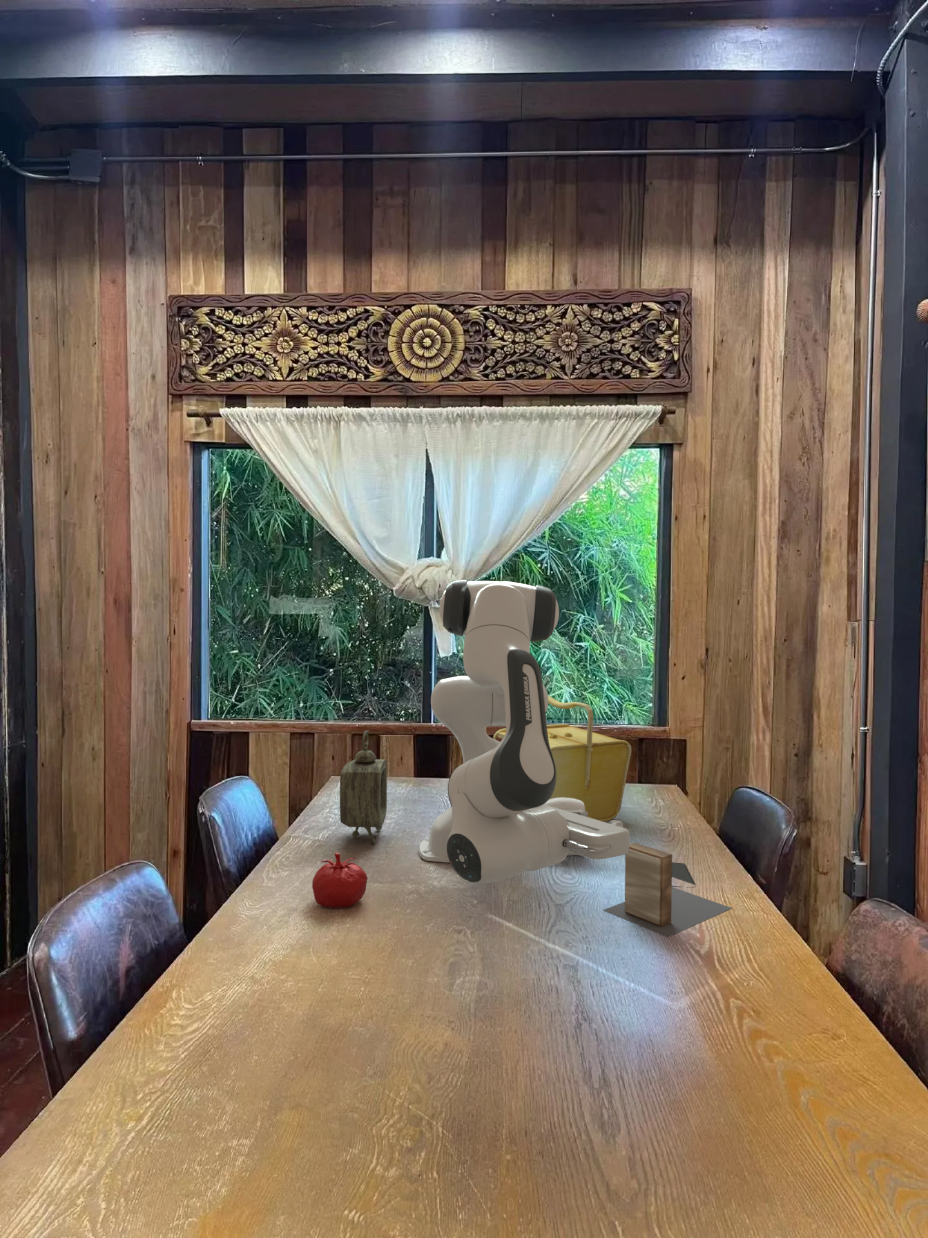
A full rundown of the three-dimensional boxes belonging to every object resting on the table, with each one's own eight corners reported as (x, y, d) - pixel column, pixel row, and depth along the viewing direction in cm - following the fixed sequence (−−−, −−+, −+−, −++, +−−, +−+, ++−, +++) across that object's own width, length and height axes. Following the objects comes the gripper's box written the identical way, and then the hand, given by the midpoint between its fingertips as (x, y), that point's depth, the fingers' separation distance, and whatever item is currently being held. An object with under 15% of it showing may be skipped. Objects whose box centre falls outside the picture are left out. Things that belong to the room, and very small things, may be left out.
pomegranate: (356, 917, 139) (356, 865, 138) (303, 911, 141) (303, 860, 140) (374, 894, 148) (374, 846, 148) (324, 889, 150) (324, 842, 150)
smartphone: (685, 862, 165) (697, 888, 151) (685, 867, 165) (697, 893, 151) (649, 861, 166) (658, 886, 151) (649, 865, 166) (658, 890, 151)
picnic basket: (490, 803, 212) (490, 693, 211) (570, 793, 223) (571, 689, 222) (545, 834, 186) (546, 708, 185) (634, 821, 197) (635, 702, 196)
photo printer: (581, 849, 175) (582, 794, 174) (587, 856, 170) (587, 800, 170) (536, 851, 173) (537, 796, 173) (541, 858, 169) (541, 801, 168)
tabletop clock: (379, 848, 175) (379, 737, 174) (339, 847, 175) (338, 736, 174) (386, 828, 190) (387, 726, 189) (349, 828, 190) (349, 725, 189)
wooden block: (660, 928, 133) (661, 858, 132) (623, 912, 139) (624, 845, 138) (671, 923, 134) (672, 854, 134) (634, 908, 141) (634, 842, 140)
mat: (667, 940, 129) (667, 937, 129) (602, 913, 140) (602, 910, 140) (732, 911, 141) (732, 908, 141) (667, 888, 152) (667, 885, 152)
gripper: (593, 832, 111) (654, 815, 120) (498, 802, 127) (557, 789, 136) (593, 876, 112) (653, 856, 120) (497, 840, 127) (557, 825, 136)
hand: (601, 820), depth 128 cm, fingers open, 6 cm apart
